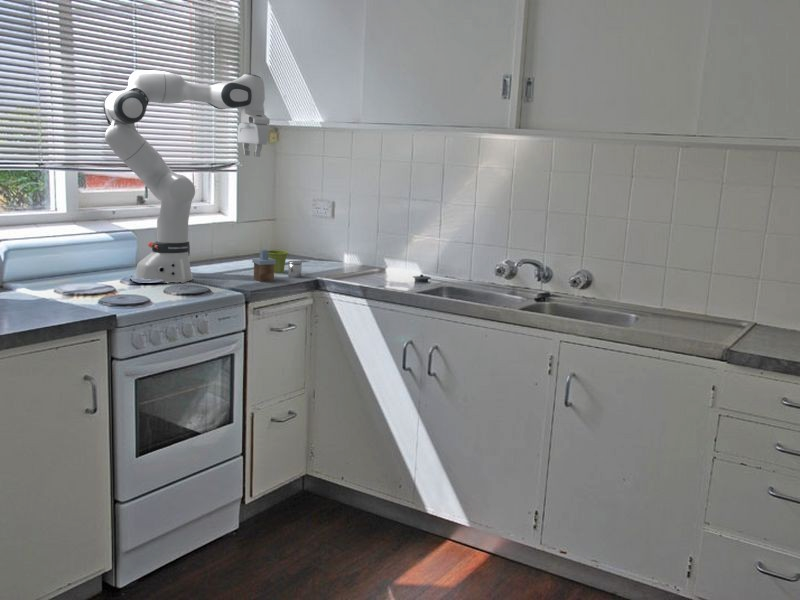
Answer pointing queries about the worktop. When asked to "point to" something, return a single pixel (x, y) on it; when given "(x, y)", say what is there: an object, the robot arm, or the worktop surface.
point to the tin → (294, 269)
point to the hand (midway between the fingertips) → (252, 156)
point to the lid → (264, 258)
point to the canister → (264, 272)
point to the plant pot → (278, 259)
